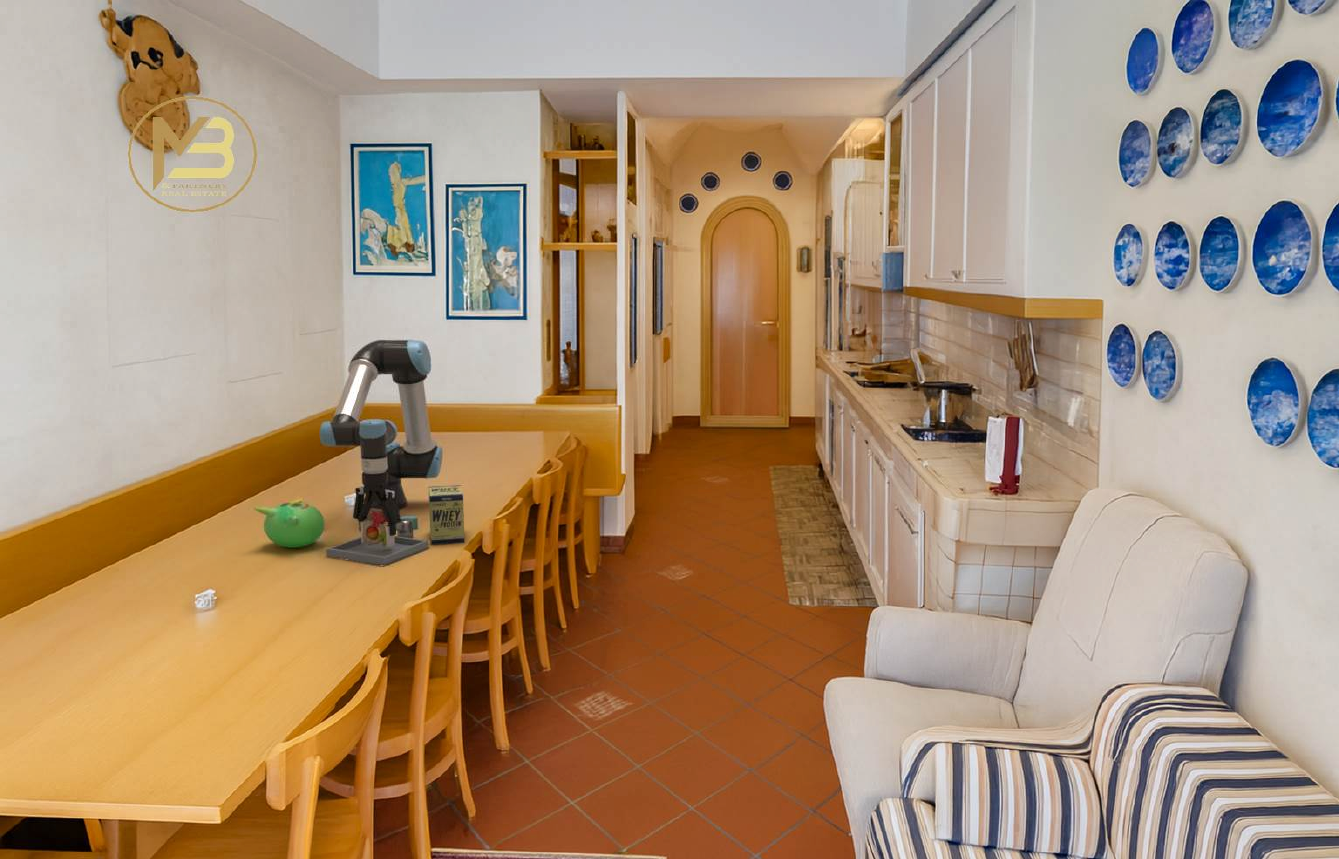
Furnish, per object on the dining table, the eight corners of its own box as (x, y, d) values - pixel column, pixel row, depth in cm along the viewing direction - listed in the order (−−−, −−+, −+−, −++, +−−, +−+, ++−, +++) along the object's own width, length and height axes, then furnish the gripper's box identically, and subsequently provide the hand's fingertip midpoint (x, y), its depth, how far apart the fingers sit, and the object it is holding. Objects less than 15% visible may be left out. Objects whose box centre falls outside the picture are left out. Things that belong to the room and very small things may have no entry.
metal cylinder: (404, 535, 306) (403, 517, 306) (416, 537, 304) (416, 519, 303) (394, 539, 302) (393, 521, 301) (406, 541, 300) (405, 523, 299)
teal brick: (390, 529, 314) (390, 518, 314) (415, 526, 318) (414, 515, 318) (393, 532, 311) (393, 520, 310) (418, 529, 315) (417, 518, 314)
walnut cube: (373, 522, 323) (372, 508, 322) (384, 524, 321) (384, 509, 320) (362, 526, 319) (362, 511, 318) (374, 527, 317) (373, 513, 316)
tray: (373, 540, 301) (372, 532, 301) (428, 548, 292) (428, 540, 292) (326, 556, 283) (326, 548, 283) (384, 566, 274) (384, 558, 274)
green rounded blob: (336, 542, 299) (333, 497, 296) (299, 557, 283) (296, 509, 281) (289, 537, 304) (287, 492, 302) (251, 551, 289) (247, 504, 286)
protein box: (431, 545, 296) (429, 496, 294) (429, 532, 311) (428, 486, 309) (465, 542, 299) (463, 494, 297) (462, 530, 314) (460, 484, 311)
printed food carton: (367, 555, 284) (393, 543, 283) (351, 521, 283) (377, 510, 282) (374, 549, 291) (400, 538, 290) (359, 516, 289) (385, 505, 288)
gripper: (337, 470, 285) (341, 542, 288) (395, 476, 276) (398, 551, 279) (355, 465, 291) (358, 536, 295) (412, 472, 283) (414, 545, 286)
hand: (378, 543), depth 287 cm, fingers closed on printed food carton, 9 cm apart
